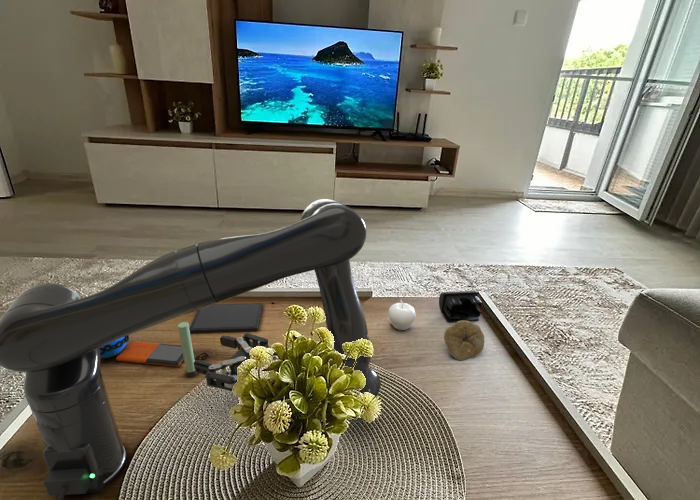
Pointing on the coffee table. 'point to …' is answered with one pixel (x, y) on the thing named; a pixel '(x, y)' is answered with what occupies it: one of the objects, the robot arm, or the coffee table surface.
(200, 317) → the tablet
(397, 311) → the apple
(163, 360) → the phone
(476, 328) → the fossil
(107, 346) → the ornament
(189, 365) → the stylus
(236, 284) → the robot arm
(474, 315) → the end cap
